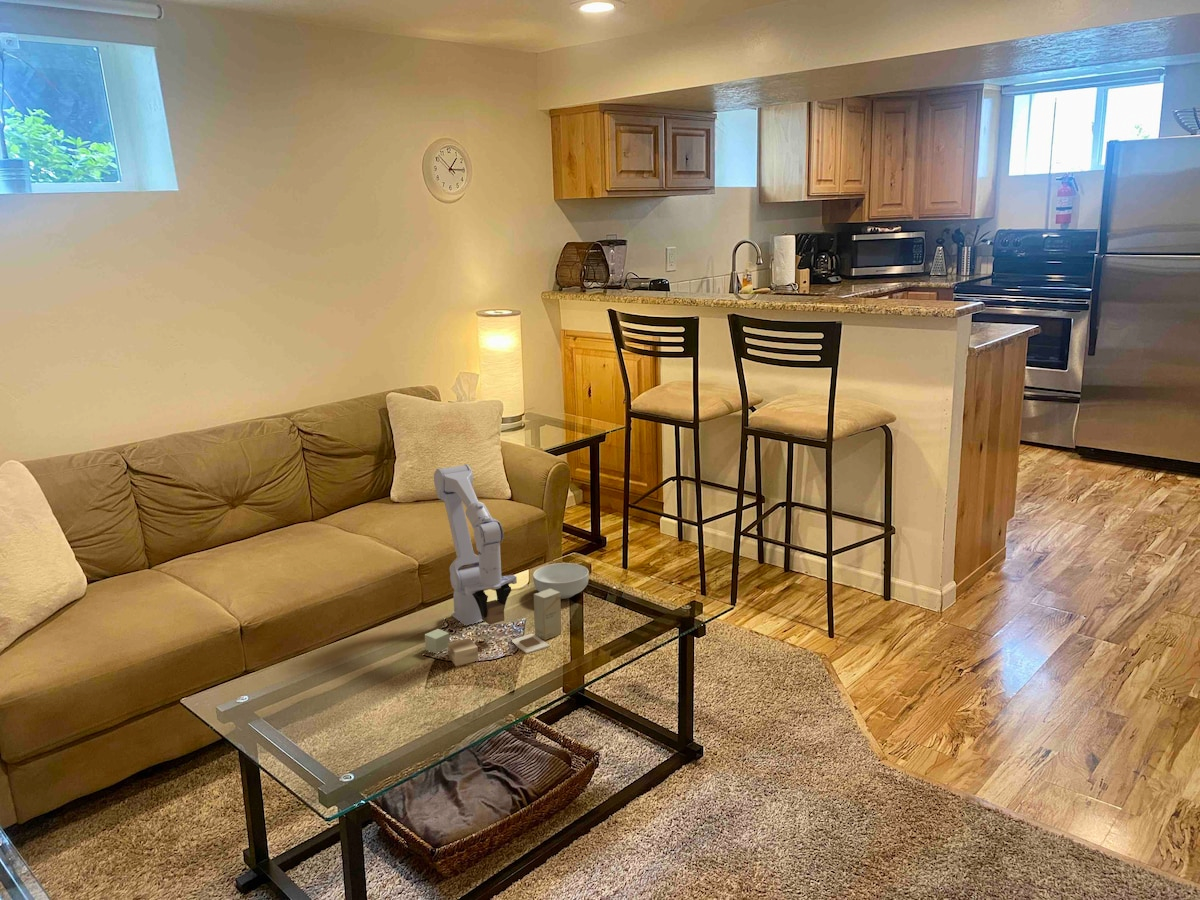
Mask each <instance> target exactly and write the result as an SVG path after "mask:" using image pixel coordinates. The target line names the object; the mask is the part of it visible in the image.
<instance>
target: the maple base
mask: <svg viewBox="0 0 1200 900" xmlns="http://www.w3.org/2000/svg"><path fill="white" fill-rule="evenodd" d="M447 651H448V653H447V654H448V655H447V656H449V657H450V658H449V657H448V658H449V659H450V660H452V661H451V662H452V664H453V665H454V666H455V667H458V666H459V667H460V666H463V665H466V664H470V663H475V661H476V662H478V661H479V649H478V646H477V645H476V643H474V641H473V640H472V639H471V638H470V637H469V638H463V639H460V640H456V641H452V642H451V641H450V643H448V650H447Z"/></svg>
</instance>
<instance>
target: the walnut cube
mask: <svg viewBox="0 0 1200 900" xmlns="http://www.w3.org/2000/svg"><path fill="white" fill-rule="evenodd" d="M482 620H484V621H483V622H485V623H487V624H488V625H489V626H490V625H494V624H497V623H502V622H504V621H505V608H504V605H503V604H502V603H500V602H499V601H497V599H493V600H489V601H487V617H485V618H484V617H483V616H482Z"/></svg>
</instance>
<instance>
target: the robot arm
mask: <svg viewBox="0 0 1200 900" xmlns="http://www.w3.org/2000/svg"><path fill="white" fill-rule="evenodd" d="M433 483H434V487H435V491H436V495H437V498H438V499H439V500H441V501H443V503H444V506H445V510H446V515H447V519H448V524H449V528H450V532H451V533H450V534H451V537H452V540H453V545H454V549H455V550H454V551H455V554H456V558H455V559H454V560H453V561H452V563H451V564H450V566H449V574H450V576H449V578H450V584H451V587H452V589H453V590H454V591H453V595H452V597H453V610H454V612H453V613H451V616H452V617H453V618H454V619H455V620H457V621H458V622H459V621H460V622H459V623H461V624H462V623H463V624H464V625H463V624H462V625H463V626H465V625H469V624H472V625H475V624H474V623H476V624H479V623H483V622H485V621H484V620H482V616H483V617H484V618H485V617H487V602H488V599H489V596H488V595H487V594H486V593H485V591H488V590H495V593H496V600H497V601H499V602H500V603H502V604H503V605H504V609H505V607H506V603H507V601H508V597H509V595H510V593H512V586H510V585H512V584H513V585H515V584H518V582H517V579H518V578H517V576H516V575H514V574H509V575H502V561H501V543H502V542H503V540H504V529H503V526H502V524H501V522H500V521H499V520H498V519H496V518H493V516H492V515H491V513H490V511H489V510H488V509H489V508H488V507H487V506H486V504H485V503H484V502H481V501H479V500H478V497H477V494H476V492H475V490H474V487H473V484H474V473H473V470H472V468H471V466H470V465H469V464H465V463H464V464H463V465H456V466H449V467H442V468H436V469H435V471H434V473H433ZM463 504H464V505H463ZM464 506H465V508H466V509H465V508H464ZM466 517H467V518H466ZM467 519H468V521H469V523H470V525H471V527H472V529H473V537H474V541H475V547H476V551H477V552H478V554H476V553H475V552H474V548H473V544H472V540H471V534H470V529H469V526H468V522H467ZM482 621H483V622H482ZM478 622H479V623H478ZM469 626H470V625H469Z"/></svg>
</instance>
